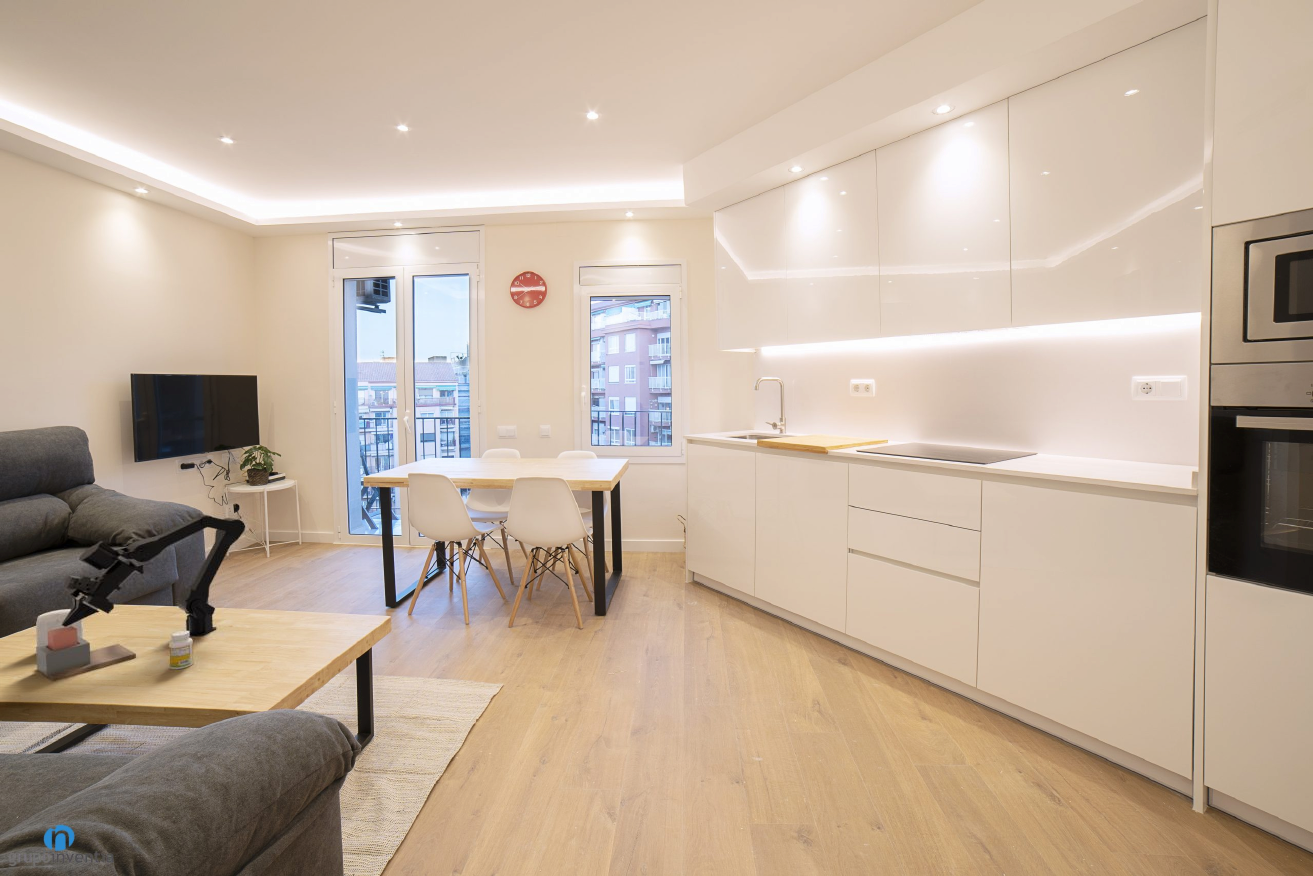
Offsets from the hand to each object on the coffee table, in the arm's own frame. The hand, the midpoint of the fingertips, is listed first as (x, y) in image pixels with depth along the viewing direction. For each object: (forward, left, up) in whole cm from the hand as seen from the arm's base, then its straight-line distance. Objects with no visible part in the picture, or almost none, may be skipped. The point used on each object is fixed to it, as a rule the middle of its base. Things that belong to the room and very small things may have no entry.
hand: (63, 626), depth 168 cm
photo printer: (+16, -13, -13) cm, 24 cm away
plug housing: (0, 0, -11) cm, 11 cm away
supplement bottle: (-31, -3, -13) cm, 34 cm away
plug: (0, 0, -7) cm, 7 cm away
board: (-2, -4, -13) cm, 13 cm away
